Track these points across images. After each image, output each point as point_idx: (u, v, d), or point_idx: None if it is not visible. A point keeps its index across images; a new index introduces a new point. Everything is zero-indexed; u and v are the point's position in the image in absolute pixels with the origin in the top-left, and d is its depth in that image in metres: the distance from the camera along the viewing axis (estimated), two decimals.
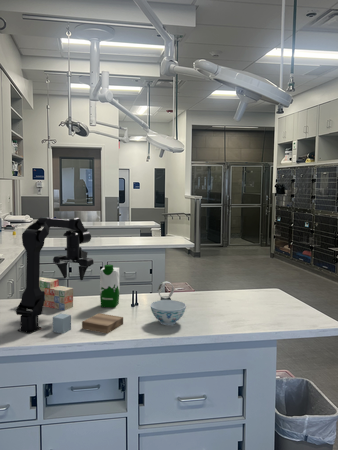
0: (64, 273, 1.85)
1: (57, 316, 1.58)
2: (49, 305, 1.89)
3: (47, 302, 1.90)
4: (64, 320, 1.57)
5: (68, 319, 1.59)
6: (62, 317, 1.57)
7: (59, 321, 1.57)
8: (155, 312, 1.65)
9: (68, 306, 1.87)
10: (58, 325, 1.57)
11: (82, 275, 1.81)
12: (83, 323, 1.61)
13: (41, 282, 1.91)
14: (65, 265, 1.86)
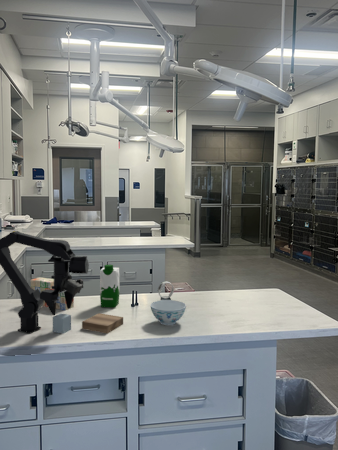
0: (67, 303, 1.63)
1: (57, 316, 1.58)
2: None
3: None
4: (64, 320, 1.57)
5: (68, 319, 1.59)
6: (62, 317, 1.57)
7: (59, 321, 1.57)
8: (155, 312, 1.65)
9: None
10: (58, 325, 1.57)
11: (51, 309, 1.54)
12: (83, 323, 1.61)
13: (41, 282, 1.90)
14: (71, 294, 1.63)
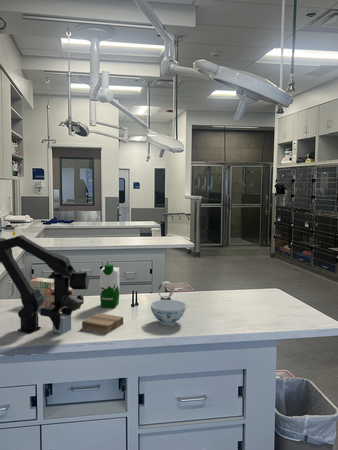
0: None
1: None
2: (50, 305, 1.89)
3: (47, 302, 1.89)
4: (64, 320, 1.57)
5: (68, 319, 1.59)
6: (62, 317, 1.57)
7: None
8: (155, 312, 1.65)
9: None
10: None
11: (54, 324, 1.56)
12: (83, 323, 1.61)
13: (41, 282, 1.90)
14: (68, 311, 1.61)
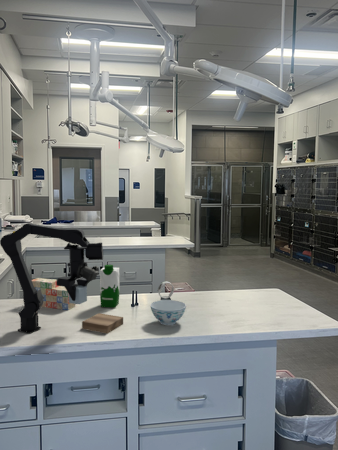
0: None
1: None
2: (51, 306, 1.89)
3: (48, 303, 1.89)
4: (80, 291, 1.57)
5: (84, 290, 1.60)
6: (78, 288, 1.58)
7: None
8: (155, 312, 1.65)
9: (71, 306, 1.88)
10: None
11: (71, 295, 1.57)
12: (83, 323, 1.61)
13: (42, 283, 1.89)
14: (83, 283, 1.62)
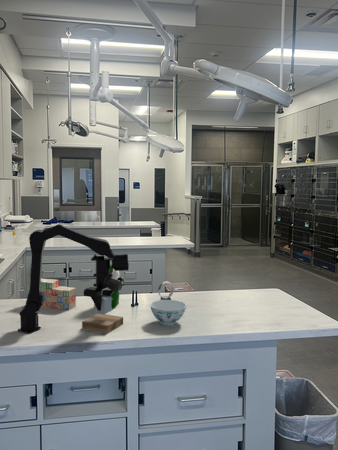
0: None
1: None
2: (51, 306, 1.88)
3: (48, 303, 1.89)
4: (106, 301, 1.61)
5: (109, 300, 1.64)
6: (103, 298, 1.62)
7: (101, 302, 1.61)
8: (155, 312, 1.65)
9: (72, 306, 1.88)
10: None
11: (96, 305, 1.61)
12: (83, 323, 1.61)
13: (42, 283, 1.89)
14: (108, 293, 1.66)
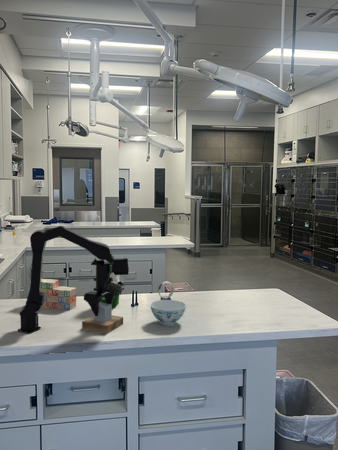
0: None
1: None
2: (52, 306, 1.88)
3: (49, 303, 1.88)
4: (106, 309, 1.62)
5: (109, 308, 1.64)
6: (104, 306, 1.62)
7: (101, 310, 1.61)
8: (155, 312, 1.65)
9: (72, 306, 1.88)
10: (100, 314, 1.62)
11: (94, 310, 1.59)
12: (83, 323, 1.61)
13: (42, 283, 1.88)
14: (111, 296, 1.68)
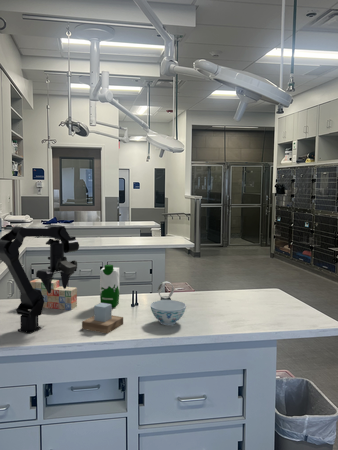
0: (63, 283, 1.75)
1: (98, 305, 1.63)
2: (52, 306, 1.88)
3: (49, 303, 1.88)
4: (106, 309, 1.62)
5: (109, 308, 1.64)
6: (104, 306, 1.62)
7: (101, 310, 1.61)
8: (155, 312, 1.65)
9: (73, 306, 1.88)
10: (100, 314, 1.62)
11: (46, 287, 1.66)
12: (83, 323, 1.61)
13: None
14: (66, 275, 1.75)
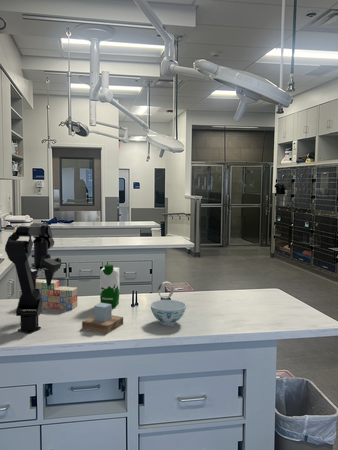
0: (47, 280, 1.78)
1: (98, 305, 1.63)
2: (53, 306, 1.88)
3: (50, 304, 1.88)
4: (106, 309, 1.62)
5: (109, 308, 1.64)
6: (104, 306, 1.62)
7: (101, 310, 1.61)
8: (155, 312, 1.65)
9: (74, 305, 1.89)
10: (100, 314, 1.62)
11: None
12: (83, 323, 1.61)
13: (43, 284, 1.87)
14: (50, 273, 1.77)
